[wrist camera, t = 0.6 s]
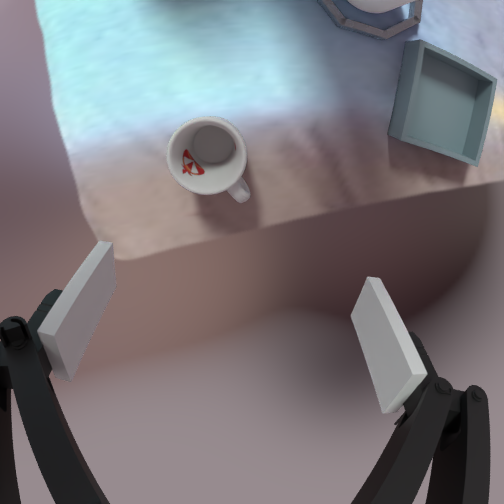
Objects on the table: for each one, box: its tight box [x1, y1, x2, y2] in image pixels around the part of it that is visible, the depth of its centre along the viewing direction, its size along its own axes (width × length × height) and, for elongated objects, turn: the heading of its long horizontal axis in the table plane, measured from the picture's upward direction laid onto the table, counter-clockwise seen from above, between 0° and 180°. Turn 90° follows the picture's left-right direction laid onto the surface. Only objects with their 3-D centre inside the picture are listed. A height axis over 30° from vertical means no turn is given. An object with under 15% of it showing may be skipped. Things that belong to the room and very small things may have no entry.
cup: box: [166, 116, 250, 203], centre depth 34 cm, size 11×8×8 cm
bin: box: [388, 40, 497, 167], centre depth 32 cm, size 13×13×4 cm
